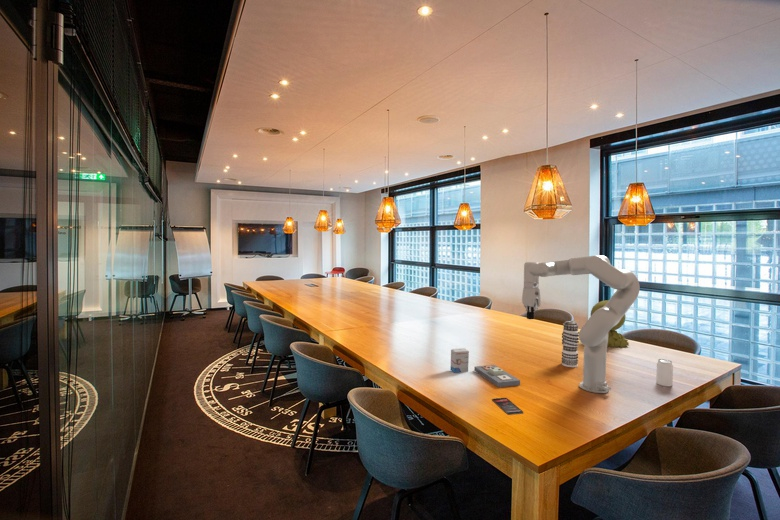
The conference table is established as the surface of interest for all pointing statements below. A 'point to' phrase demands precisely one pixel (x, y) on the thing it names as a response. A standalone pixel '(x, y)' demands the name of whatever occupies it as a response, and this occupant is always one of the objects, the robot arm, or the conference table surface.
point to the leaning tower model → (570, 344)
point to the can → (664, 373)
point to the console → (494, 379)
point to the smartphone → (507, 406)
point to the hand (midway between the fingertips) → (530, 318)
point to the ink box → (459, 360)
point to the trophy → (613, 329)
